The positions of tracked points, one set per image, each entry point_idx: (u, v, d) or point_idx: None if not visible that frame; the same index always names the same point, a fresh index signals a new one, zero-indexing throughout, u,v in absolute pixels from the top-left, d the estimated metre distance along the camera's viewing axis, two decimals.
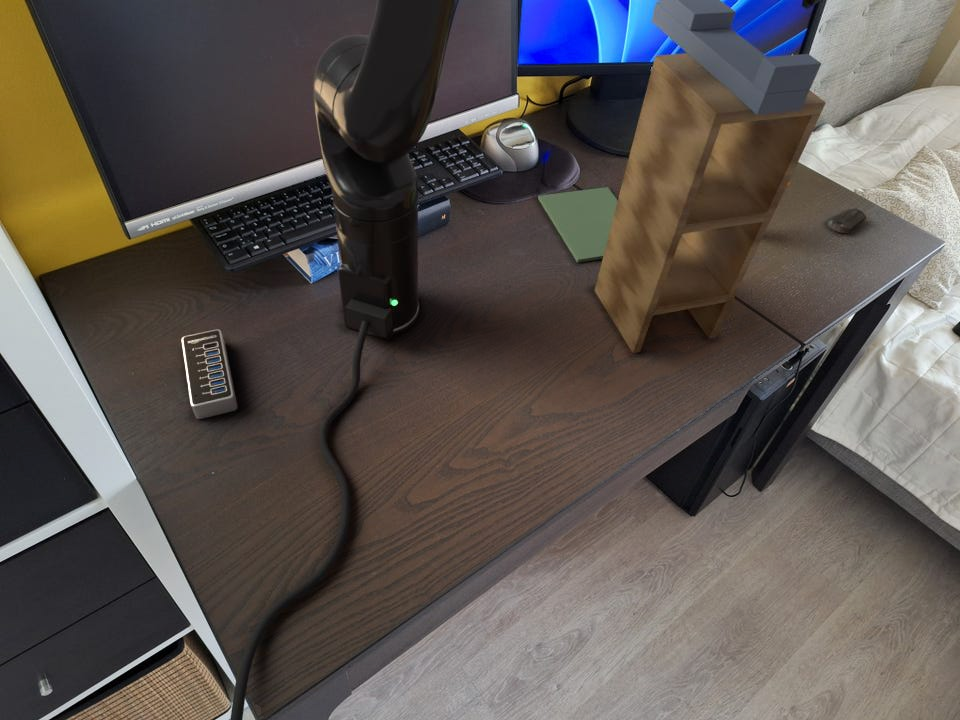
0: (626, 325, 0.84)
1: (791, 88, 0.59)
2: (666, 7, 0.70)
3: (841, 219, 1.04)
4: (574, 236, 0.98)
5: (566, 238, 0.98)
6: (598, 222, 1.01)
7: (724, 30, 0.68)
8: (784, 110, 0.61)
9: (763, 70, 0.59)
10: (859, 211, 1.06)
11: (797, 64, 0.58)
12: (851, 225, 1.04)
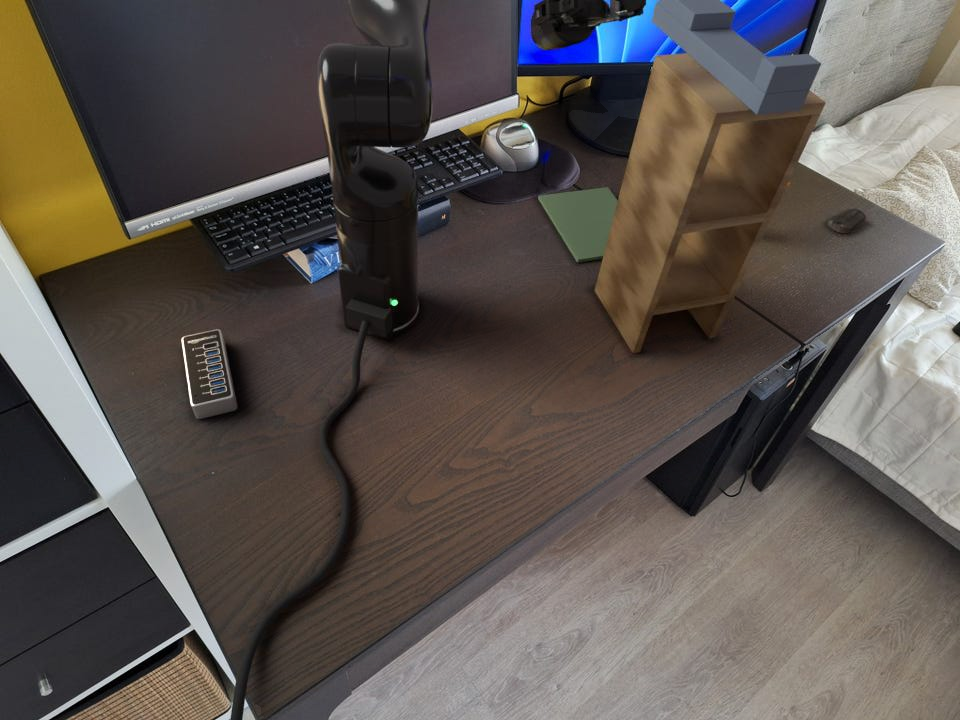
0: (626, 325, 0.84)
1: (791, 88, 0.59)
2: (666, 7, 0.70)
3: (841, 219, 1.04)
4: (574, 236, 0.98)
5: (566, 238, 0.98)
6: (598, 222, 1.01)
7: (724, 30, 0.68)
8: (784, 110, 0.61)
9: (763, 70, 0.59)
10: (859, 211, 1.06)
11: (797, 64, 0.58)
12: (851, 225, 1.04)
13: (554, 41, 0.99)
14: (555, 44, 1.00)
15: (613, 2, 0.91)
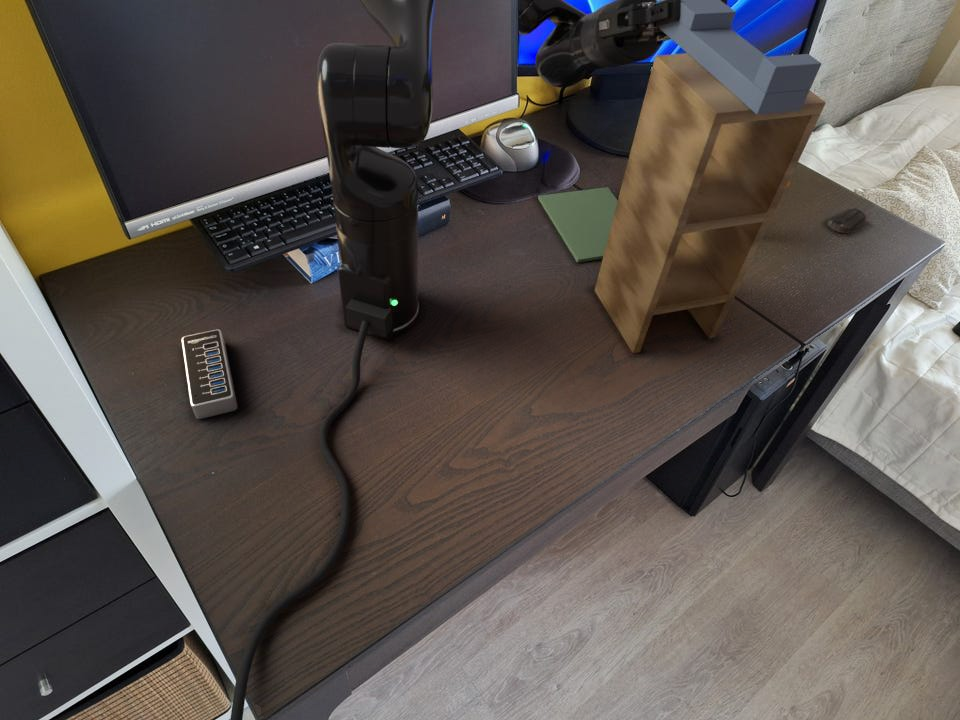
0: (626, 325, 0.84)
1: (791, 88, 0.59)
2: None
3: (841, 219, 1.04)
4: (574, 236, 0.98)
5: (566, 238, 0.98)
6: (598, 222, 1.01)
7: (724, 30, 0.68)
8: (784, 110, 0.61)
9: (763, 70, 0.59)
10: (859, 211, 1.06)
11: (797, 64, 0.58)
12: (851, 225, 1.04)
13: (613, 58, 0.83)
14: (613, 61, 0.84)
15: None
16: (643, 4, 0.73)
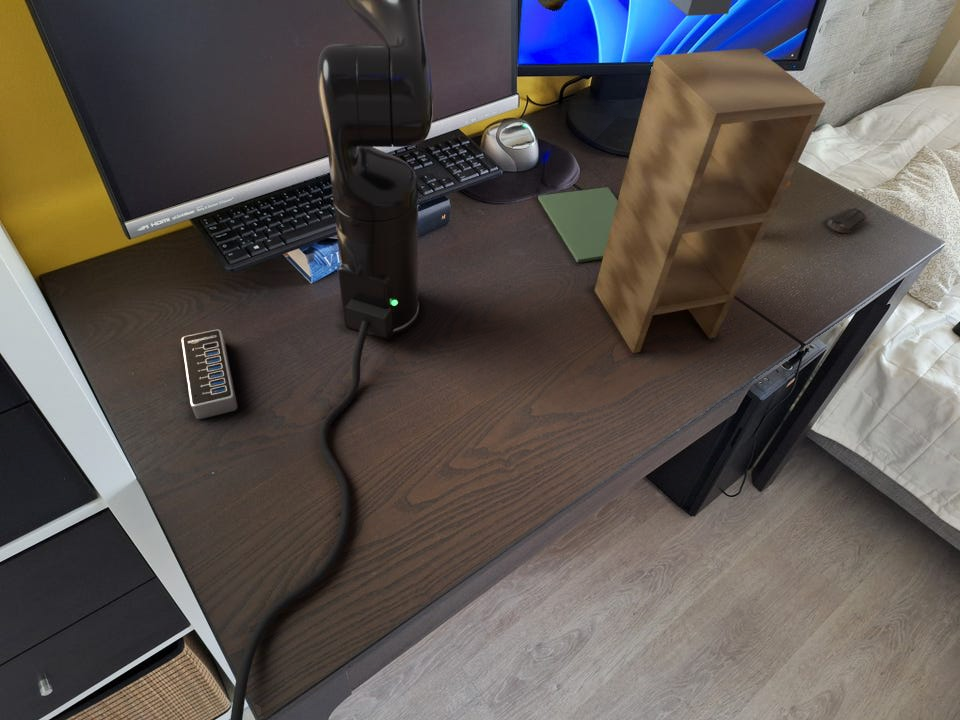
0: (626, 325, 0.84)
1: None
2: None
3: (841, 219, 1.04)
4: (574, 236, 0.98)
5: (566, 238, 0.98)
6: (598, 222, 1.01)
7: None
8: (712, 12, 0.68)
9: None
10: (859, 211, 1.06)
11: None
12: (851, 225, 1.04)
13: None
14: None
15: None
16: None
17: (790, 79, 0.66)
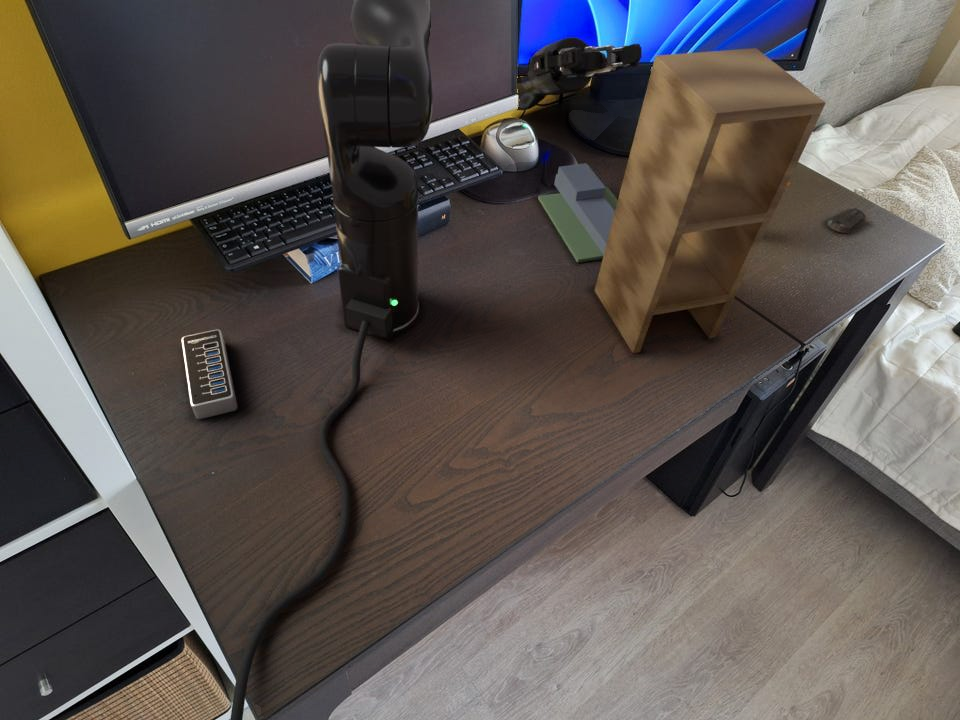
0: (626, 325, 0.84)
1: None
2: (562, 180, 1.04)
3: (841, 218, 1.04)
4: (574, 236, 0.98)
5: (566, 238, 0.98)
6: None
7: (599, 199, 1.02)
8: None
9: None
10: (859, 211, 1.06)
11: None
12: (851, 225, 1.04)
13: (552, 89, 1.02)
14: (553, 91, 1.03)
15: (609, 54, 0.94)
16: (561, 50, 0.92)
17: (790, 79, 0.66)
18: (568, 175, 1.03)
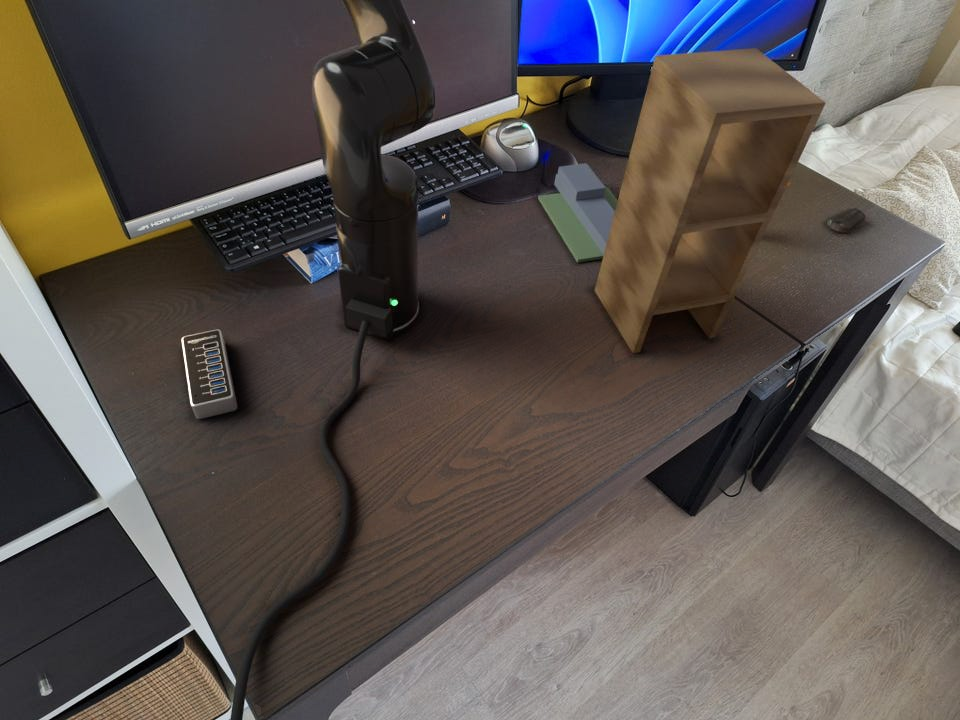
0: (626, 325, 0.84)
1: None
2: (562, 180, 1.04)
3: (841, 218, 1.04)
4: (574, 236, 0.98)
5: (566, 238, 0.98)
6: None
7: (599, 199, 1.02)
8: None
9: None
10: (859, 211, 1.06)
11: None
12: (850, 225, 1.04)
13: None
14: None
15: None
16: None
17: (790, 79, 0.66)
18: (568, 175, 1.03)
